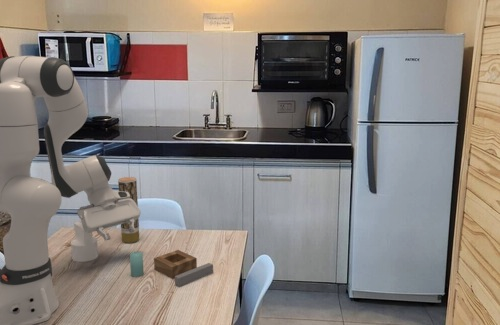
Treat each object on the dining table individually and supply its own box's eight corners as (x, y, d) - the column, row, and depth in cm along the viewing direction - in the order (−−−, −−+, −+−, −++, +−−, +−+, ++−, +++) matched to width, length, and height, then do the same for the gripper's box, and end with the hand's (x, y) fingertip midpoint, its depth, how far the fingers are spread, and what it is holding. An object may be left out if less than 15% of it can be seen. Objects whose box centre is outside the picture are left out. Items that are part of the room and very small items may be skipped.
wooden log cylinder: (134, 244, 181) (131, 181, 176) (118, 243, 182) (114, 180, 177) (142, 238, 187) (139, 177, 182) (126, 236, 189) (123, 176, 183)
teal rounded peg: (135, 281, 150) (134, 258, 149) (128, 277, 153) (127, 254, 151) (146, 277, 153) (144, 254, 151) (139, 273, 156) (138, 251, 154)
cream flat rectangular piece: (179, 290, 144) (178, 278, 143) (142, 270, 158) (142, 259, 157) (213, 275, 154) (213, 264, 153) (176, 258, 168) (175, 248, 167)
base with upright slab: (68, 256, 170) (65, 224, 167) (92, 249, 176) (89, 219, 173) (77, 264, 163) (75, 231, 161) (102, 257, 169) (100, 225, 167)
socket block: (172, 278, 150) (172, 267, 149) (154, 269, 156) (153, 258, 156) (196, 269, 157) (196, 258, 156) (178, 260, 163) (178, 249, 163)
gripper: (77, 203, 152) (94, 239, 148) (132, 191, 167) (149, 223, 162) (72, 213, 156) (88, 248, 152) (126, 200, 171) (142, 232, 166)
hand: (120, 235), depth 157 cm, fingers open, 8 cm apart
